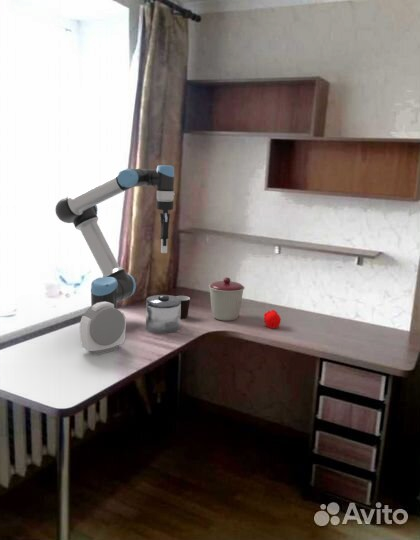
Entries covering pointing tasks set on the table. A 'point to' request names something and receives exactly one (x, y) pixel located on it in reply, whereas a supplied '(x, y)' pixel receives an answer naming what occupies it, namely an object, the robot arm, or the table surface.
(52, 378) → the table surface
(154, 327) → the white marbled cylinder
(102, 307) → the alarm clock
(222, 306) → the canister
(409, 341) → the table surface
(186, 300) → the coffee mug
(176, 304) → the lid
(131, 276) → the robot arm
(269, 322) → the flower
